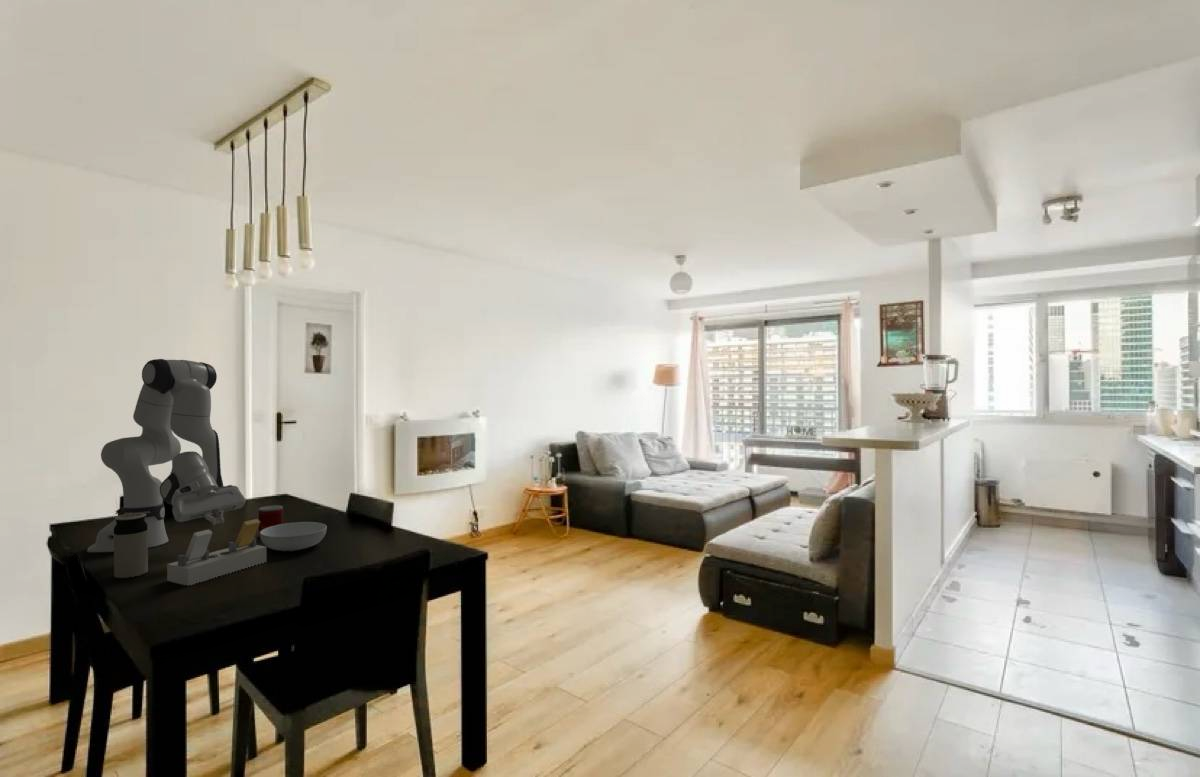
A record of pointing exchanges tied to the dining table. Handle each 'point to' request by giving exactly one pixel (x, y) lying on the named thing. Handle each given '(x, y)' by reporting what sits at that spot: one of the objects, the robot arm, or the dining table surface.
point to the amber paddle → (247, 533)
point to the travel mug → (130, 545)
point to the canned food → (270, 516)
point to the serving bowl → (293, 535)
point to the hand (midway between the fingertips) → (219, 523)
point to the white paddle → (198, 545)
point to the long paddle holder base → (215, 563)
